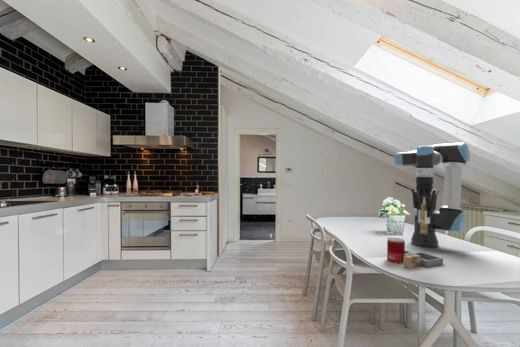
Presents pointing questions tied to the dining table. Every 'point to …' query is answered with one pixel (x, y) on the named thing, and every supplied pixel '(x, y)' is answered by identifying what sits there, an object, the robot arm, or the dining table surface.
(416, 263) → the wooden block
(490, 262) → the dining table surface
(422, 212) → the dowel
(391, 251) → the canned food
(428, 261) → the tray
